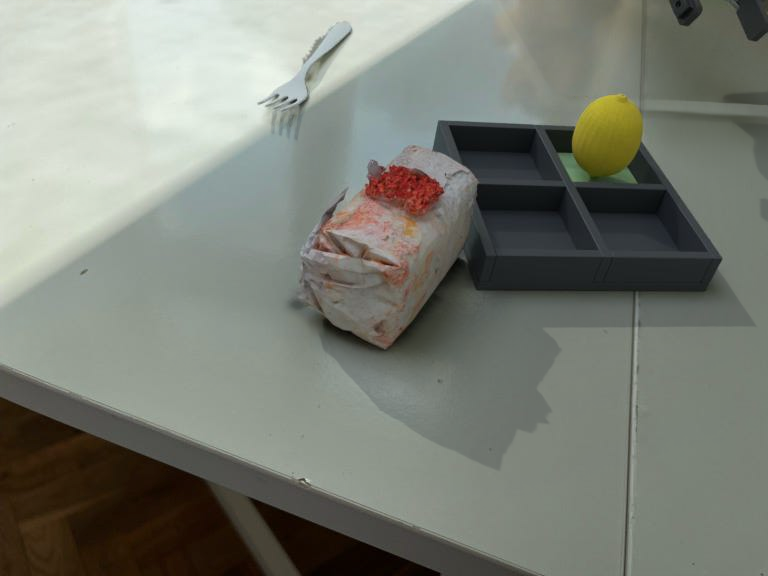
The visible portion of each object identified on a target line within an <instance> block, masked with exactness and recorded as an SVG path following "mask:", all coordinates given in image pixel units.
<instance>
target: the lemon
mask: <svg viewBox="0 0 768 576" xmlns="http://www.w3.org/2000/svg"><path fill="white" fill-rule="evenodd" d="M575 126H576V127H575V130H574V134H573V138H572V151H573V155H574V158H575V160H576V162H577V164H578V165H579V166H580V167H581V168H582V169H583V170H584V171H585V172H587V173H588V174H589V176H590V177H591V178H597V177H605V176H611V175H614V174H617V173H619V172H621V171H622V170H623V169H625V168H626V167H627V166H628V165H629V164H630V163H631V161H632V160H633V158H634V157H635V155H636V153H637V151H638V149H639V146H640V143H641V141H642V140H643V132H644V121H643V116H642V113H641V112H640V109H639V108H638V106H637V105H636V104H635V103H634V102H633V101H632V100H630V98H628V97H627V95H626V94H623V93H618V94H610V95H604V96H601V97H599V98H597V99H595V100H593V101H592V102H591V103H590V104H589V105H588V106H586V107H585V109H584V111H582V113H581V115H580V116H579V118H578V121H576V124H575Z"/></svg>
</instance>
